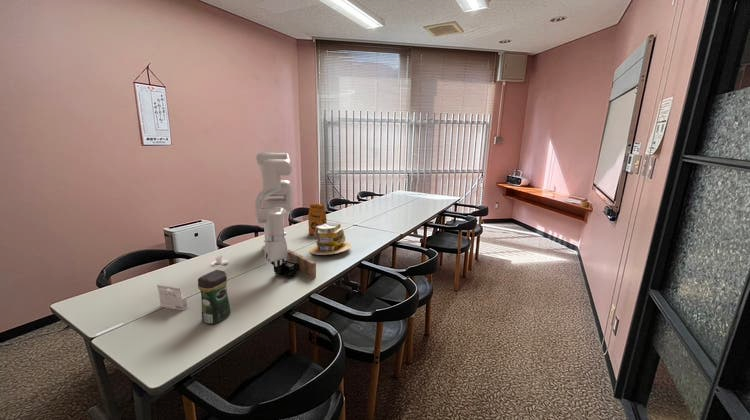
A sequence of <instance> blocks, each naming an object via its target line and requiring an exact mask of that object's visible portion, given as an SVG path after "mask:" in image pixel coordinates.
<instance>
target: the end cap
mask: <svg viewBox="0 0 750 420" xmlns="http://www.w3.org/2000/svg"><path fill="white" fill-rule="evenodd" d="M298 273H299V264H298V263H295V262H291V261H287V260H286V259H285V260H284V261H283V262H282V265H281V273H279V274H277V273H275V272H274V274H275V275H276V276H280V277H282V278H288V279H291V278H293V277H295V276H296V275H297V274H298Z"/></svg>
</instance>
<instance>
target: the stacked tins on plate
mask: <svg viewBox="0 0 750 420" xmlns="http://www.w3.org/2000/svg"><path fill="white" fill-rule="evenodd" d="M313 237H314V238H315V239H316V241H315V242H316V246H314V247H312V248H310V253H311V254H313V255H320V256H321V255H322V256H323V255H325V256H327V255H333V254H339V253H343V252H346V251H347V250H349V249H350V248H351V247H352V244H351V243H350V242H347V241H346V235H345V230H344V229H343V228H342V227H341V223H339V222H337V223H336V222H328V223H326V224H323V225H321V226H316V228H315V233H314V235H313Z"/></svg>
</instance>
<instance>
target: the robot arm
mask: <svg viewBox="0 0 750 420" xmlns="http://www.w3.org/2000/svg"><path fill="white" fill-rule="evenodd" d="M255 160H256V163H257V165H258V167H259V169H260V171H261V173H262V177H261V179H262V189H261V191H260V192H259V193H258V194H257V196H256V198H255V202H254V214H255V220H256V222H257V223H259V224H263V230H264V231H263V232H264V239H263V243H264V245H263V246H262V251H264V260H265V264H266V265H272V266H273V272H274V274H275V273H277V274H279V273H281V265H282V262H283V261H284V260H286V259H287V255H288V251H287V250H288V243H287V241H286V238H285V236H286V235H287V232H285V225H284V224H285V223H284V222H285V220H286V219H287V214H290V213H291V212H292V211H293V189H292V188H293V186H292V184H291V181H290V180H288V179H281V176H290V175H291V174H292V172H293V165H292V160H291V157H290V154H289V153H287V152H270V151H269V152H268V151H266V152H258V153H257V154H256V158H255Z"/></svg>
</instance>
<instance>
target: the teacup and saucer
mask: <svg viewBox="0 0 750 420" xmlns="http://www.w3.org/2000/svg"><path fill="white" fill-rule="evenodd" d="M214 259H215V261H213V262H212V263H211V265H212V266H213V267H221V266H225V265H228V264H229V260H226V259H223V256H222V255H216V256H215V257H214ZM215 263H216V264H215Z"/></svg>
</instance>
